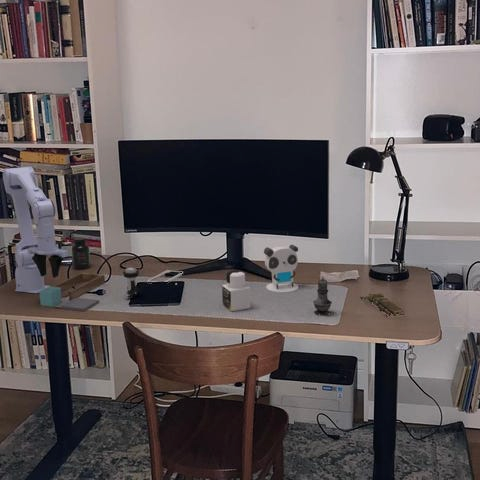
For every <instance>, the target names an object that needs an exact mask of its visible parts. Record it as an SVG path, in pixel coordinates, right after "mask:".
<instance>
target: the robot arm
mask: <svg viewBox="0 0 480 480" xmlns="http://www.w3.org/2000/svg"><path fill="white" fill-rule="evenodd" d="M2 180H3V185H4V189H5V192H6V194H8V195H10V196H11V198H12V202H13V207H14V212H15V215H16V216H15V217H16V220H17V226H18V231H19V236H20V241H18V242H17V244H16V245H15V247H14V252H15V253H14V254H15V256H14V257H15V261H16V264H17V266H16V269H15V270H14V276H15V286H16V288H15V289H14V290H15V292H21V293H30V294H38V293H39V291H41V290H43V289H45V288H47V287H51V285H46V284H45V278H44V277H45V276H47V260H48V261H49V264H50V267H51V274H52V277H53V278H57V277H59V272H60V267H61V265H62V262H63V259H64V258H66V257H69V254H68V253H69V252H68V250H66V249H61V248H58V247H57V245H56V244H57V242H56V234H55V233H56V231H55V222H54V221H55V219H54V217H56V215H57V214H56V213H57V210H56V205H55V201H54V200H53V199H52V198H47V196H46V195H45V193H44V192H43V190H42V189H41V188H40V187H37V186H36V184H35V181H36V173H35V169H34V168H33V167H32V166H24V167H23V166H22V167H13V168H12V167H11V168H4V169H3V171H2ZM29 205H30V207H31V213H32V216H33V221H32V217H31V213H30V208H29ZM32 222H33V223H34V224H35V229H34V226H33V223H32ZM34 230H35V231H36V236H35V232H34ZM48 256H49V257H48ZM39 294H40V293H39Z"/></svg>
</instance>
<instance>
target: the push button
mask: <svg viewBox="0 0 480 480" xmlns="http://www.w3.org/2000/svg"><path fill="white" fill-rule="evenodd" d="M139 273H140V270H138V269H137V268H136V267H127V268H125V270H124V271H122V274H123V277H124V278H126V280H127V287H126V288H127V290H126V291H125V293H126V295H125V300H128V299H129V300H131V299H130V298H131V297H132V296H133V295H134V293H135V294H136V293H137V292H138V291H139V292H140V290H139V287H137V285H136V282H137V281H136V278H137V277H138V276H139Z"/></svg>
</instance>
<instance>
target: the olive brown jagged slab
mask: <svg viewBox="0 0 480 480" xmlns="http://www.w3.org/2000/svg"><path fill="white" fill-rule="evenodd" d="M363 297H364V300H366V299H367V300H368V301H369V302H368V301H367V300H366V301H367V302H368V303H370V302H371V303H372V302H373V304H374V305H376V306H378V307H377V308H379V310H378V311H380V310H381V311H383V312H385V313H386V314H388V315H389V316H390V315H391V313H392V314H393V315H394V316H396V314H399V315H404V314H405V312H404V310H403V309H402V308H401V307H399V306H398V305H397V304H396V303H394V302H393V301H391V300H388V298H387V297H386V296H384V294H381V293H380V292H376V293H369V294H368V295H362V296H360V297H359V299H360V298H361V299H360V300H363ZM373 299H374V300H373ZM376 301H377V302H378V303H377V302H376ZM371 303H370V304H371ZM377 308H376V309H377ZM385 309H387V310H385ZM381 311H380V312H381Z"/></svg>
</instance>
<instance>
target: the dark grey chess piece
mask: <svg viewBox="0 0 480 480" xmlns="http://www.w3.org/2000/svg"><path fill="white" fill-rule="evenodd" d="M316 292H317V298H316V299H315V300H313V305H314V308H315V309H316V310H315V311H313V314H314V313H315V314H314V315H316V314H318V315H317V316H319V314H320V315H327V316H329V315H328V314H329V313H331V311H330V309H331V305H332V303H333V302H332V300H330V299H329V298H328V292H329V289H328V281H327V280H326V279H325V278H324V276H322V277H321V279H319V280H318V281H317V289H316ZM331 314H332V313H331Z"/></svg>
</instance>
